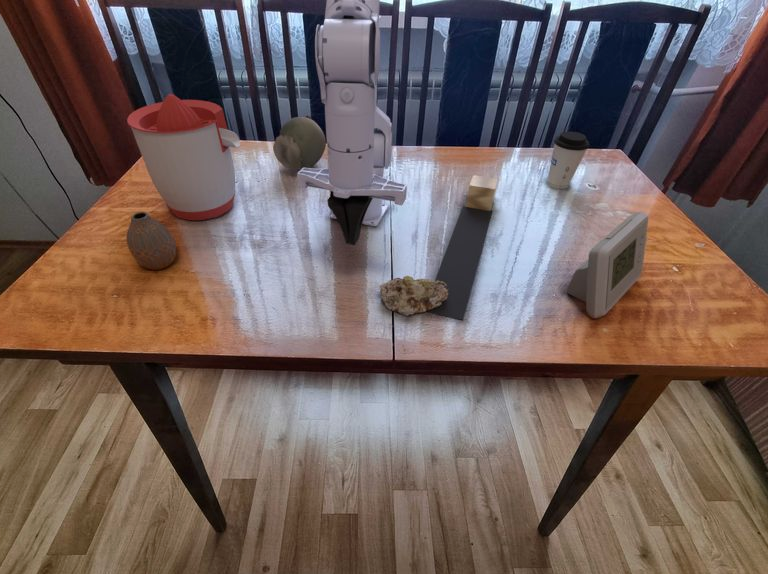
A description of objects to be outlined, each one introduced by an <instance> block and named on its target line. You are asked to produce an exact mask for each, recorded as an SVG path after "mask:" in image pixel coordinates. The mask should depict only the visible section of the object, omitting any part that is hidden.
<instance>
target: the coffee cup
mask: <svg viewBox="0 0 768 574" xmlns="http://www.w3.org/2000/svg"><path fill="white" fill-rule="evenodd" d="M553 143H554V144H553V149H552V154H551V155H552V156H551V158H550V159H551V160H550V163H549V169H548V174H547V179H546V184H547V185H548V186H549V187H551V188H554V189H560V190H561V189H567V188H568V187H569V185H570V183H571V181H572V180H573V177H574V175H575V174H576V172H577V170H578V167H579V166H580V164H581V162H582V160H583V158H584V156H585V154H586V152H587V150H588V149H589V148H590V142H589V140H588V139H587V136H586V135H585V134H584V133H582V132H577V131H562V132H560V135H557V136H556V138H555V139H554V140H553Z"/></svg>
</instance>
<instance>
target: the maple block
mask: <svg viewBox="0 0 768 574" xmlns="http://www.w3.org/2000/svg"><path fill="white" fill-rule="evenodd" d="M498 182H499V178H494V177H489V176H481V175H476V174H474V175H472V177H471V180H470V183H469V185H468V190H467V195H466V201H465V205H464V206H465V207H469V208H475V209H481V210H487V211H490V210H492V206H493V203H494V199H495V194H496V189H497V186H498Z"/></svg>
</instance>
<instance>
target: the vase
mask: <svg viewBox="0 0 768 574" xmlns="http://www.w3.org/2000/svg"><path fill="white" fill-rule="evenodd" d="M126 245H127V248H128V251H129V253H130V254H131V256H132V258H133V259H134V260H135V262H136V263H137V264H139V265H140V266H142V267H144V268H146V269H149V270H153V271H156V270H162V269H163V270H164V269H165V268H168V267H169V266H170V265H171V264H172V263H173V262H174V260H175V258H176V256H177V245H176V241H175V239H174V236H173V234H172V232H171V231H170V230H169V228H167V226H166V225H165V224H163V223H162V222H160V221H159V220H157V219H155V218H154V217H152V216H151V215H150V214H149V213H148V212H146V211H137V212H134V213H133V214H132V215H131V217H130V223H129V226H128V228H127V230H126Z"/></svg>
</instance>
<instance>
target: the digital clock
mask: <svg viewBox="0 0 768 574" xmlns="http://www.w3.org/2000/svg"><path fill="white" fill-rule="evenodd" d="M648 226H649V216H648V215H647V214H646V213H645V212H644V211H637V212H634V213H633V214H630V215H629V216H628V217H627V218H625V219H624V220H623V221H622V222H620V223H619V224H618V225H617V226H616V227H615V228H614V229H612V230H611V231H610V232H609V233H608V234H606V235H605V237H603V238H602V239H601V240H600V241H598V243H597V244H596V245H595V246H593V248H591V249H590V250H589V253H588V259H587V260H586V261H585V262H584V263H583V264H581V266H579V267H578V268H577V269H576V270H575V271H574V273H573V275H572V277H571V279H570V281H569V283H568V286H567V288H566V291H565V292H566V294H569V295H570V296H573V297H574V298H577V299H579V300H580V301H583V302H584V303H585V305H586V306H585V309H586V313H587V315H588V316H589V317H590V318H592V319H599V318H601V317H603V316H604V317H605V315H606V314H607V313H608V312H610V310H611V309H612V308H613V307H614V306H615V305H616V304H617V303H618V301H620V299H622V297H624V295H625V294H626V293H627V292H628V291H629V290H630V288H632V287H633V285H634V284H635V283H636V282H637V281H638V280H639V279H640V278H641V277H642V273H643V270H644V269H643V268H644V261H645V252H646V243H647V236H648V228H649V227H648Z"/></svg>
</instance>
